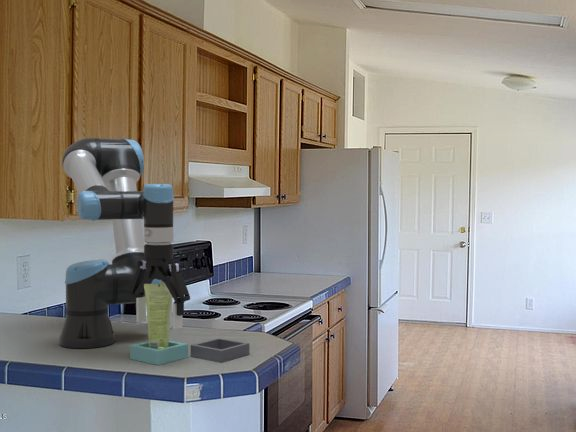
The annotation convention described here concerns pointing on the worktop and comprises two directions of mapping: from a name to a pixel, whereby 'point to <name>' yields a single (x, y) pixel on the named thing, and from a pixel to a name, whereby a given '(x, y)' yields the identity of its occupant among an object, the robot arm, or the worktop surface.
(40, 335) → the worktop surface
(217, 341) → the gray square frame
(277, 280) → the worktop surface
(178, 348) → the block
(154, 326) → the tube
